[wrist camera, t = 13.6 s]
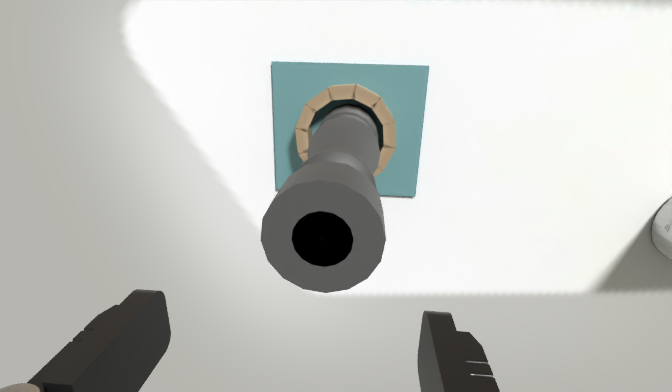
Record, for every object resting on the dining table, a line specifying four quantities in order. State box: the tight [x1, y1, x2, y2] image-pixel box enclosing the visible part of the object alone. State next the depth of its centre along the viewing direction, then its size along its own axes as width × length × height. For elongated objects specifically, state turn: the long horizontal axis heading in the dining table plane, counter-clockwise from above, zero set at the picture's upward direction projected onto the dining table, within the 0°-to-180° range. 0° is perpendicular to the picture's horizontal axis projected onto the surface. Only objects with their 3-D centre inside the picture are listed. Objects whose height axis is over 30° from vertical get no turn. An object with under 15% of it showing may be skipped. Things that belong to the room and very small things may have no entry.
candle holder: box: [261, 103, 386, 293], centre depth 28 cm, size 6×6×25 cm
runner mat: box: [272, 62, 429, 197], centre depth 40 cm, size 16×14×1 cm
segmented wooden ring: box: [295, 83, 396, 176], centre depth 39 cm, size 10×10×3 cm
